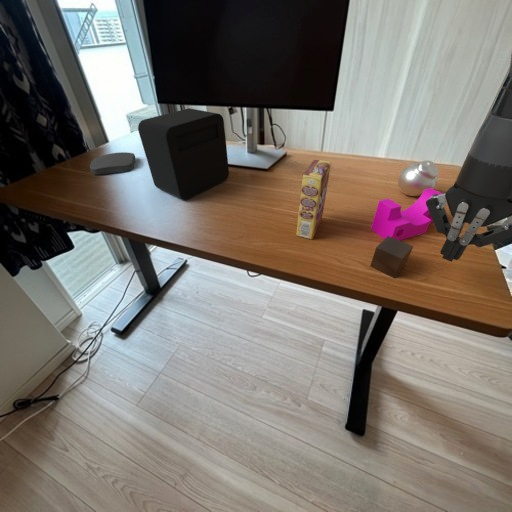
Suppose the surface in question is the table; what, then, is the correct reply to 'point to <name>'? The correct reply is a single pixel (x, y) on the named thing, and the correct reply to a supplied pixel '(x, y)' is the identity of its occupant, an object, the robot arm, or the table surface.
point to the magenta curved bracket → (403, 218)
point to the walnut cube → (391, 256)
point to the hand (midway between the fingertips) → (448, 257)
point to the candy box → (312, 198)
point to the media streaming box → (113, 163)
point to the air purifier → (185, 151)
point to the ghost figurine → (418, 178)
